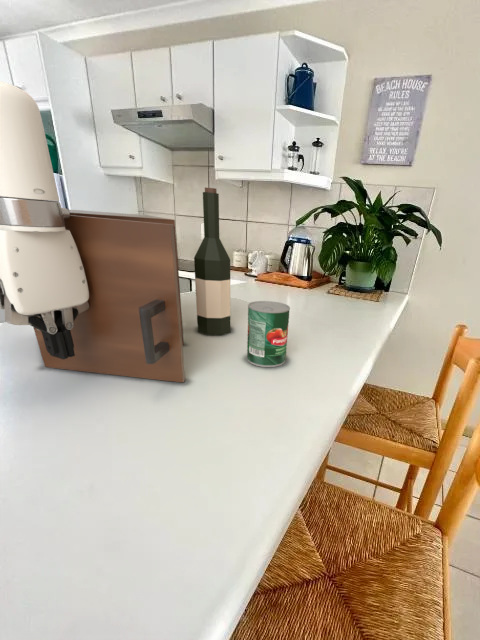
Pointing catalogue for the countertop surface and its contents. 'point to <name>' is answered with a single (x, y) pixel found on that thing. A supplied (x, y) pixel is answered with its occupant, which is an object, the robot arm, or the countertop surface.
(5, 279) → the robot arm
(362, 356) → the countertop surface
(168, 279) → the cupboard door
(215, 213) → the wine bottle
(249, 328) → the canned tomato
